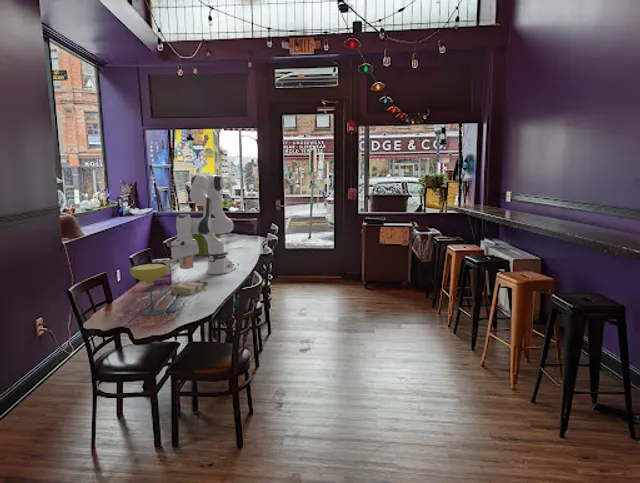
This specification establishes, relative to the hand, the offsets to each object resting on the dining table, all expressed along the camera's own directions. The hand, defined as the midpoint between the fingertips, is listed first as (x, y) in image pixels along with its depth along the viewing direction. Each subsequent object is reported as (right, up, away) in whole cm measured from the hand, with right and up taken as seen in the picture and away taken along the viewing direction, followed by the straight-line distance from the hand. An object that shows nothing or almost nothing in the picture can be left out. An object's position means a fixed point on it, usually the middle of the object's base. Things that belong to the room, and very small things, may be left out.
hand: (186, 263), depth 272 cm
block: (0, -3, 0) cm, 3 cm away
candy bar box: (-22, -14, +22) cm, 34 cm away
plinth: (0, -17, +3) cm, 17 cm away
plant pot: (-18, +2, +120) cm, 122 cm away
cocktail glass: (-7, -24, -36) cm, 44 cm away
